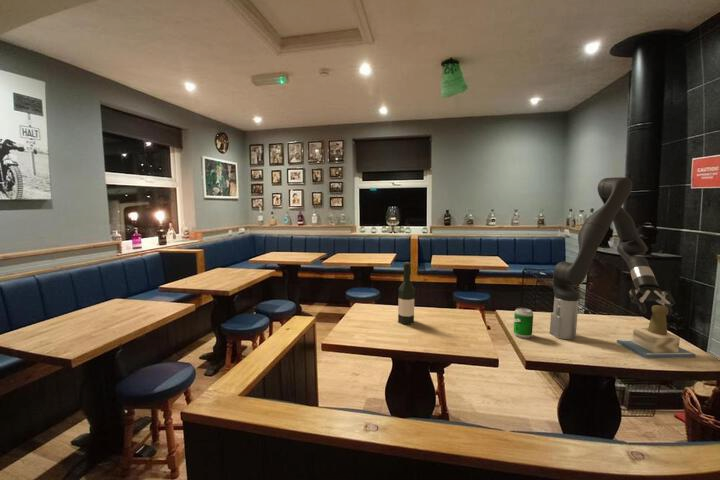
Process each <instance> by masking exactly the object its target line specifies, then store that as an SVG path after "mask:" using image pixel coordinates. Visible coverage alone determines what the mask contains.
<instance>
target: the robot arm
mask: <svg viewBox="0 0 720 480" xmlns="http://www.w3.org/2000/svg"><path fill="white" fill-rule="evenodd" d="M632 189H633V181H632V180H631V179H630V178H629V177H624V176H621V177H620V176H619V177H616V176H615V177H604V178H603V179H601V180H600V181H599V182H598V184H597V193H598V195H599V198H600V199H601V201H602V203H603V205H602V206H601V207H600V208H599V209H596V211H595V212H593V213H592V214H590V215H589V216H588V217H587V218H586V219H585V220H584V222H583V224H582V226H581V228H580V229H579V231H578V233H577V234H578V235H577V241H578V253H577V256H576V258H575V260H574V261H573V262H568V261H560V262H558V263H557V264H556V265H555V267H554V269H553V273H552V289H553V293H554V297H553V298H554V299H553V300H554V301H553V311H552V312H551V313H550V323H549V334H551V335H552V336H554V337H556V338H557V339H562V340H563V339H564V340H574V339H576V337H577V324H578V314H579V302H580V294H579V292H578V291H576V289H574V287H573V286H579V285H581V284H582V283H583V282H584V280H585V278H586V277H587V275H588V272H589V269H590V268H591V264H592V262H593V259H594V258H595V255H596V253H597V251H598V249H599V247H600V245H601V243H602V242H603V240H604V239H605V236H606V235H607V233H608V231H609V228H610V227H611V225H612V223H613V225H614V228H615V231H616V233H617V237H618V238H619V240H621V241H625V242H620V243H619V244H618V245H617V246H616V251H617V253H618V254H619V255H620V257H621V258H622V259H623V260H624V261H625V262H626V264H627V266H628V269H629V271H630V275H631V279H632V282H633V285H634V287H635V288H631V289H630V290H629V291H628V293H629V294H628V295H629V298H630V301H631V304H636V305H637V306H638V308H639V311H640V312H641V313H642V314H646V313H647V312H648V310H647V307H646V304H645V303H644V302H645V301H647V302H650V301H651V302H656V303H658V304H659V305H661V306H665V307H667V308H668V314H667V315H666V316H671V315H672V314H673V313H674V311H673V309H672V306H674V304H676V301H675V300H674V299H675V298H674V297H673V296H672V293H671V291H669V290H666V291H662V290H660V288H659V284H658V281H657V280H656V279H657V278H656V277H655V275H654V272H653V270H652V269H651V267H650V264H649V261H648V260H647V258H645V257H644V256H642V255H645V254H646V253H647V251H648V246H647V244H646V243H645V241H644V240H643V239H642V238H641V237H640V235H639V233H638V231H637V227H636V225H635V221H634V219H633V218H632V216H631V214H630V213H628V211H626V209H624V207H623V205H624V203H625V202H626V201H627V199H628V197H629V196H630V194H631V192H632ZM637 295H638V296H639V297H640V298H639V299H638V296H637Z"/></svg>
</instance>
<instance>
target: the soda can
mask: <svg viewBox="0 0 720 480" xmlns="http://www.w3.org/2000/svg"><path fill="white" fill-rule="evenodd" d="M513 314H514V318H513V331H512V333H513V334H514V335H515V337H517V338H520V339H521V338H522V339H530V337H532V336H533V329H534V328H533V327H534V312H533V311H532V310H531V309H529V308H525V307H517V308H516V309H515V310H514V313H513Z"/></svg>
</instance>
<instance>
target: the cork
mask: <svg viewBox="0 0 720 480" xmlns="http://www.w3.org/2000/svg"><path fill="white" fill-rule="evenodd" d="M650 310H651V318H650V321H649V324H648V327H647V328H648V331H649V332H651V333H654V334H659V335H667V332H668V325H667V324H668V323H667V316H668V315H667V314H668V308H667V307H665V306H663V305H662V304H659V305H658V304H654V305H652V306H651V309H650Z"/></svg>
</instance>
